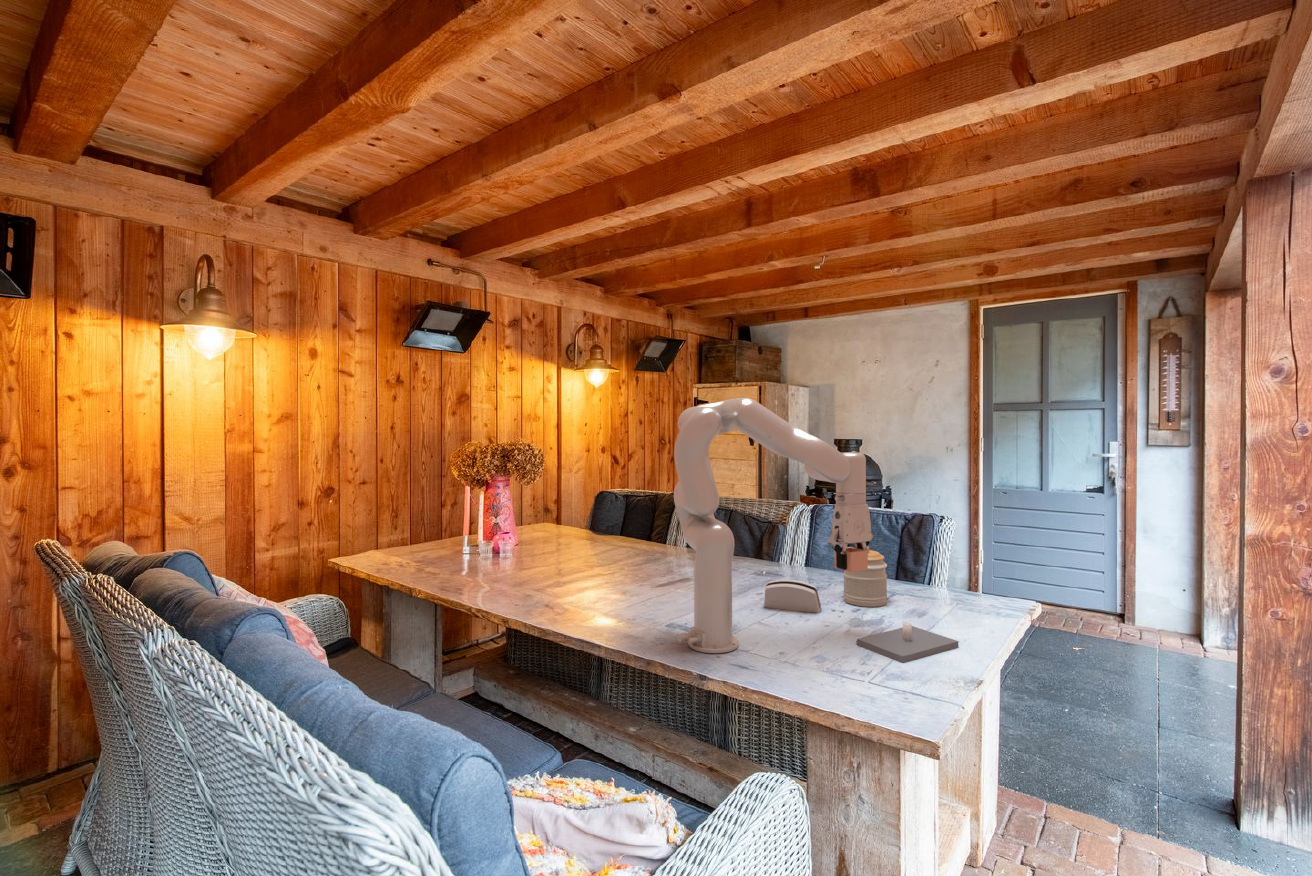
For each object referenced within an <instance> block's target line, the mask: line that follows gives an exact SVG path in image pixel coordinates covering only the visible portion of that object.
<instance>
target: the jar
mask: <svg viewBox="0 0 1312 876" xmlns="http://www.w3.org/2000/svg"><path fill="white" fill-rule="evenodd" d="M867 551H868V570H862V571H856V572H848V571H844V570H843V573H842V575H843V600H844V602H845V603H847V604H849V605H852V606H857V607H865V608H867V607H868V608H874V607H875V608H876V607H882V606H884V605H886V604H887V601H888V593H887V591H888V590H887V589H888V588H887V587H888V585H887V584H888V579H887V578H888V574H887V571H886V569H887V567H888V563H886V562H885V561H884V559H885V556H884V555H883V554H881V553H880V552H878V551H876V550H872V549H870V546H868V547H867Z"/></svg>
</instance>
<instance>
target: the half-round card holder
mask: <svg viewBox="0 0 1312 876" xmlns="http://www.w3.org/2000/svg"><path fill="white" fill-rule="evenodd" d="M763 601H764V605H763V607H764V608H770V609H779V610H789V611H798V612H807V613H817V614H819V613H820V612H821V609H822V604H821V601H820V596H819V591H818V588H817V586H816V585H813V584H811V583H808V582H805V581H801V580H796V579H776V580H771V581H768V582H767V583H766V585H765V588H764V600H763Z"/></svg>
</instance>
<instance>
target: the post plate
mask: <svg viewBox="0 0 1312 876" xmlns="http://www.w3.org/2000/svg"><path fill="white" fill-rule="evenodd" d="M856 646H860V647H861V648H864V649H866V650H869V651H872V652H874V653H877V654H879V655H882V656H884V657H887V658H890V659H892V660H895V661H897V662H900V663H907V662H911V661H914V660H918V659H921V658H925V657H929V656H932V655H935V654H939V653H943V652H946V651H950V650H953V649H956V648H957V649H958V648H959V640H956V639H953V638H950V637H948V636H947V637H946V636H943V635H942V634H937V633H935V632H932V631H929V630H926V629H923V628H920V627H917V626H913V624H912V623H911V622H903V623H902V627H900V628H896V629H892V630H887V631H883V632H879V633H875V634H872V635H871V634H870V635H867V636H861V637H858V638H856Z"/></svg>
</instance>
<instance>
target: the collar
mask: <svg viewBox="0 0 1312 876" xmlns="http://www.w3.org/2000/svg"><path fill="white" fill-rule="evenodd" d="M845 554H847V569H846V570H844V569H840V568H837V567H836V553H835V552H834V551H833V555H834V556H833V557H834V559H833V562H834V563H833V565H834V567H833V568H835V569H838V570H841V571H843V572H844V571H848V572H856V571H862V570H868V551H867V550H863V549H858V548H856V547H853V546H847V548H846V552H845Z"/></svg>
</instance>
